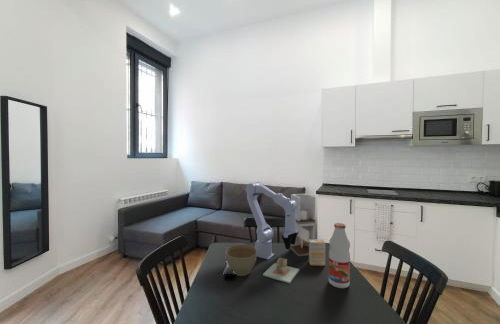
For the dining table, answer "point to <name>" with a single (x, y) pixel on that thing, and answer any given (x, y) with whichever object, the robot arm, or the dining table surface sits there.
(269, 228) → the robot arm
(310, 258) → the supplement box
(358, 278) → the dining table surface
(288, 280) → the sage board
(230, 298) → the dining table surface
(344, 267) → the fruit juice
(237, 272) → the planter bowl
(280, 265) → the maple block
